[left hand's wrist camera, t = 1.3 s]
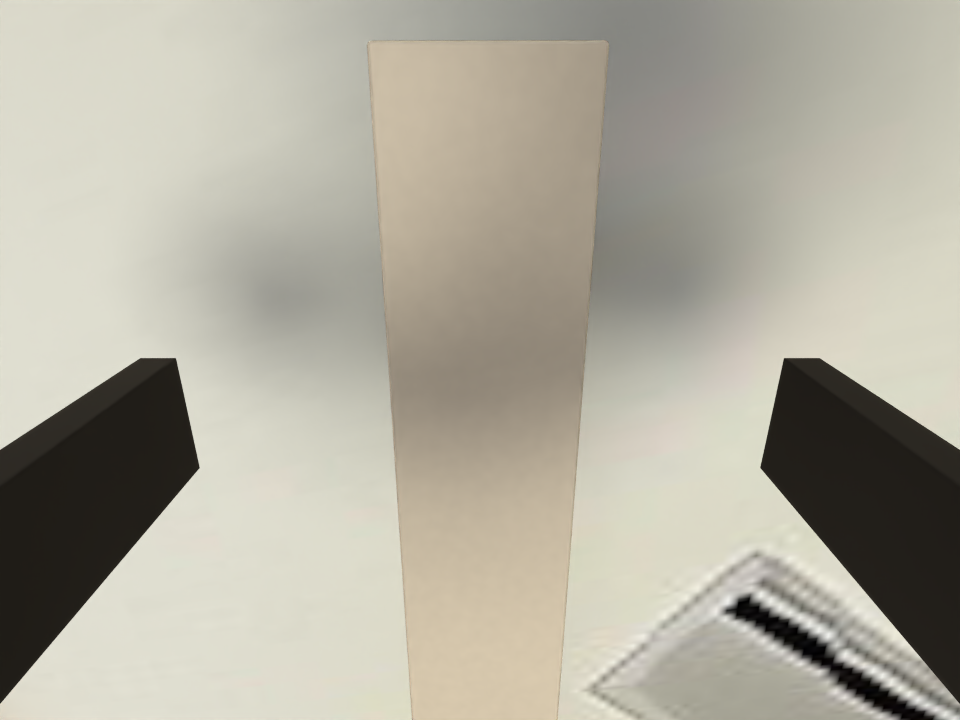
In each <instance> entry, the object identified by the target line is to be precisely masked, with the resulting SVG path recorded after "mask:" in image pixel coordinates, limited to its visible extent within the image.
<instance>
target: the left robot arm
mask: <svg viewBox="0 0 960 720" xmlns="http://www.w3.org/2000/svg"><path fill="white" fill-rule="evenodd" d="M199 468H200V467H199V463H198V458H197V454H196V449H195V444H194V440H193V435H192V430H191V426H190V421H189V417H188V412H187V407H186V403H185V398H184V393H183V389H182V384H181V380H180V375H179V370H178V366H177V361H176V358H140V359H139V360H137V361H136V362H134V363H132V364H131V365H129V366H128V367H126V368H125V369H123V370H122V371H120V372H119V373H117V374H116V375H114V376H113V377H111V378H110V379H108V380H106V381H105V382H103V383H102V384H100V385H99V386H97V387H96V388H94V389H93V390H91V391H90V392H88V393H87V394H85V395H84V396H82V397H80V398H79V399H77V400H76V401H74V402H73V403H71V404H70V405H68V406H67V407H65V408H64V409H62V410H61V411H59V412H58V413H56V414H54V415H53V416H51V417H50V418H48V419H47V420H45V421H44V422H42V423H41V424H39V425H38V426H36V427H35V428H33V429H32V430H30V431H28V432H27V433H25V434H24V435H22V436H21V437H19V438H18V439H16V440H15V441H13V442H12V443H10V444H9V445H7V446H6V447H4V448H3V449H1V450H0V703H1V702H2V701H3V700H4V699H5V697H6V696H7V695H8V694H9V693H10V692H11V690H12V689H13V688H14V687H15V686H16V684H17V683H18V682H19V681H20V680H21V678H22V677H23V676H24V675H25V674H26V673H27V671H28V670H29V669H30V668H31V667H32V665H33V664H34V663H35V662H36V661H37V660H38V658H39V657H40V656H41V655H42V654H43V652H44V651H45V650H46V649H47V648H48V647H49V645H50V644H51V643H52V642H53V641H54V639H55V638H56V637H57V636H58V635H59V634H60V632H61V631H62V630H63V629H64V628H65V626H66V625H67V624H68V623H69V622H70V621H71V619H72V618H73V617H74V616H75V615H76V613H77V612H78V611H79V610H80V609H81V608H82V606H83V605H84V604H85V603H86V602H87V600H88V599H89V598H90V597H91V596H92V595H93V593H94V592H95V591H96V590H97V589H98V587H99V586H100V585H101V584H102V583H103V581H104V580H105V579H106V578H107V577H108V576H109V574H110V573H111V572H112V571H113V570H114V568H115V567H116V566H117V565H118V564H119V563H120V561H121V560H122V559H123V558H124V557H125V555H126V554H127V553H128V552H129V551H130V550H131V548H132V547H133V546H134V545H135V544H136V542H137V541H138V540H139V539H140V538H141V537H142V535H143V534H144V533H145V532H146V531H147V529H148V528H149V527H150V526H151V525H152V524H153V522H154V521H155V520H156V519H157V518H158V516H159V515H160V514H161V513H162V512H163V511H164V509H165V508H166V507H167V506H168V505H169V503H170V502H171V501H172V500H173V499H174V498H175V496H176V495H177V494H178V493H179V492H180V490H181V489H182V488H183V487H184V486H185V484H186V483H187V482H188V481H189V480H190V479H191V477H192V476H193V475H194V474H195V473H196V471H197V470H198V469H199ZM760 468H761V469H762V470H763V471H764V473H765V474H766V475H767V476H768V477H769V479H770V480H771V481H772V482H773V483H774V484H775V486H776V487H777V488H778V489H779V490H780V492H781V493H782V494H783V495H784V496H785V498H786V499H787V500H788V501H789V502H790V503H791V505H792V506H793V507H794V508H795V509H796V511H797V512H798V513H799V514H800V515H801V516H802V518H803V519H804V520H805V521H806V522H807V524H808V525H809V526H810V527H811V528H812V529H813V531H814V532H815V533H816V534H817V535H818V537H819V538H820V539H821V540H822V541H823V542H824V544H825V545H826V546H827V547H828V548H829V550H830V551H831V552H832V553H833V554H834V555H835V557H836V558H837V559H838V560H839V561H840V563H841V564H842V565H843V566H844V567H845V568H846V570H847V571H848V572H849V573H850V574H851V576H852V577H853V578H854V579H855V580H856V581H857V583H858V584H859V585H860V586H861V587H862V589H863V590H864V591H865V592H866V593H867V595H868V596H869V597H870V598H871V599H872V600H873V602H874V603H875V604H876V605H877V606H878V608H879V609H880V610H881V611H882V612H883V613H884V615H885V616H886V617H887V618H888V619H889V621H890V622H891V623H892V624H893V625H894V626H895V628H896V629H897V630H898V631H899V632H900V634H901V635H902V636H903V637H904V638H905V639H906V641H907V642H908V643H909V644H910V645H911V647H912V648H913V649H914V650H915V651H916V652H917V654H918V655H919V656H920V657H921V658H922V660H923V661H924V662H925V663H926V664H927V665H928V667H929V668H930V669H931V670H932V671H933V673H934V674H935V675H936V676H937V677H938V678H939V680H940V681H941V682H942V683H943V684H944V686H945V687H946V688H947V689H948V690H949V691H950V693H951V694H952V695H953V696H954V697H955V699H956V700H957V701H958V702H959V703H960V450H959V449H957V448H956V447H954V446H953V445H951V444H950V443H948V442H947V441H945V440H944V439H942V438H941V437H939V436H938V435H936V434H935V433H933V432H932V431H930V430H928V429H927V428H925V427H924V426H922V425H921V424H919V423H918V422H916V421H915V420H913V419H912V418H910V417H909V416H907V415H906V414H904V413H902V412H901V411H899V410H898V409H896V408H895V407H893V406H892V405H890V404H889V403H887V402H886V401H884V400H883V399H881V398H880V397H878V396H876V395H875V394H873V393H872V392H870V391H869V390H867V389H866V388H864V387H863V386H861V385H860V384H858V383H857V382H855V381H854V380H852V379H850V378H849V377H847V376H846V375H844V374H843V373H841V372H840V371H838V370H837V369H835V368H834V367H832V366H831V365H829V364H828V363H826V362H824V361H823V360H821V359H820V358H784V361H783V366H782V370H781V375H780V380H779V384H778V389H777V393H776V398H775V403H774V407H773V412H772V417H771V421H770V426H769V430H768V435H767V440H766V444H765V449H764V454H763V458H762V463H761V467H760Z"/></svg>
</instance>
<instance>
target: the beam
mask: <svg viewBox="0 0 960 720" xmlns="http://www.w3.org/2000/svg"><path fill="white" fill-rule="evenodd" d="M367 51H368V66H369V81H370V96H371V111H372V126H373V141H374V156H375V171H376V186H377V201H378V216H379V231H380V246H381V261H382V276H383V291H384V306H385V321H386V336H387V351H388V366H389V381H390V396H391V411H392V426H393V441H394V456H395V471H396V485H397V500H398V515H399V530H400V545H401V560H402V575H403V590H404V605H405V620H406V635H407V650H408V665H409V680H410V695H411V710H412V720H557V718H558V705H559V692H560V679H561V666H562V653H563V640H564V627H565V614H566V601H567V588H568V575H569V561H570V548H571V535H572V522H573V509H574V496H575V483H576V470H577V457H578V444H579V431H580V418H581V405H582V392H583V379H584V366H585V353H586V340H587V327H588V314H589V301H590V288H591V275H592V262H593V248H594V235H595V222H596V209H597V196H598V183H599V170H600V157H601V144H602V131H603V118H604V105H605V92H606V79H607V66H608V53H609V43H608V41H605V40H455V41H369V42H368V44H367Z"/></svg>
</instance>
